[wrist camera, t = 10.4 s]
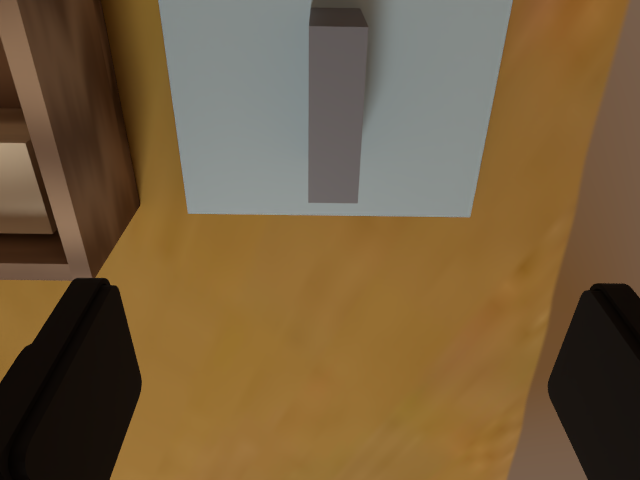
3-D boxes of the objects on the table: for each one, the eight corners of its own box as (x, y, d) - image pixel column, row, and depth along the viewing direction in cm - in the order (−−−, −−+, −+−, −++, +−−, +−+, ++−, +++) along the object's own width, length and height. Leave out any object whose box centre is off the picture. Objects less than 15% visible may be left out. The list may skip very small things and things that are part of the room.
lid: (160, -81, 25) (108, -81, 19) (511, -75, 25) (574, -72, 19) (195, 196, 33) (167, 260, 27) (461, 200, 33) (494, 264, 27)
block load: (-22, 107, 28) (-83, 141, 24) (69, 109, 28) (25, 143, 24) (6, 189, 31) (-44, 232, 27) (89, 190, 31) (52, 234, 27)
